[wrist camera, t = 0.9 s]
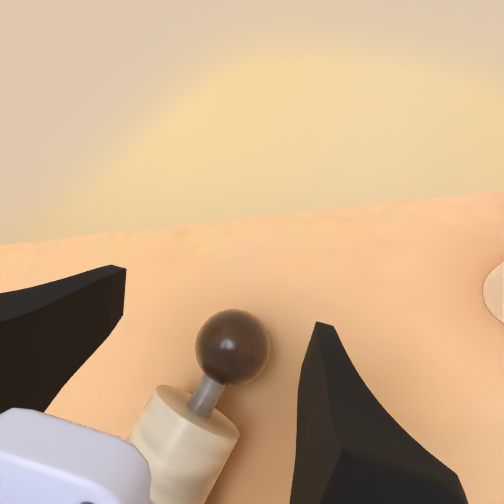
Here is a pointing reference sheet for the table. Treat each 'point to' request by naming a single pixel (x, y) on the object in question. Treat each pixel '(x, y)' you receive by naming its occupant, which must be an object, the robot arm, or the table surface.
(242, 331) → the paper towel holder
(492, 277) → the tube
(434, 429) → the table surface
